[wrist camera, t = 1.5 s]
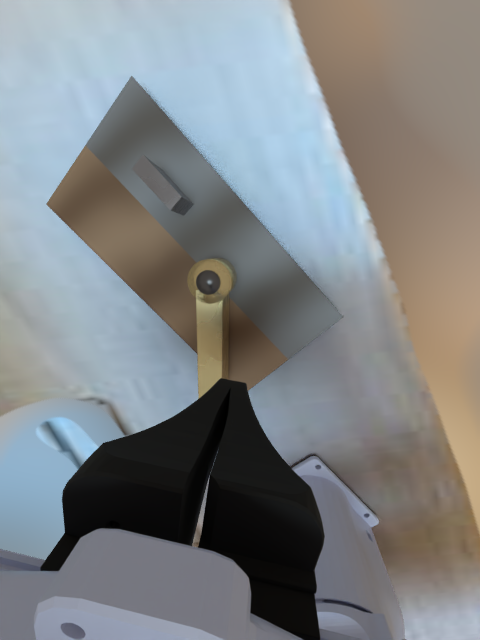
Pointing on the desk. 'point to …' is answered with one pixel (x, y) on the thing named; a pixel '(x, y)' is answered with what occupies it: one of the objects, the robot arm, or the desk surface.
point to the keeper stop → (162, 186)
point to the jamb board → (187, 238)
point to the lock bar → (212, 318)
